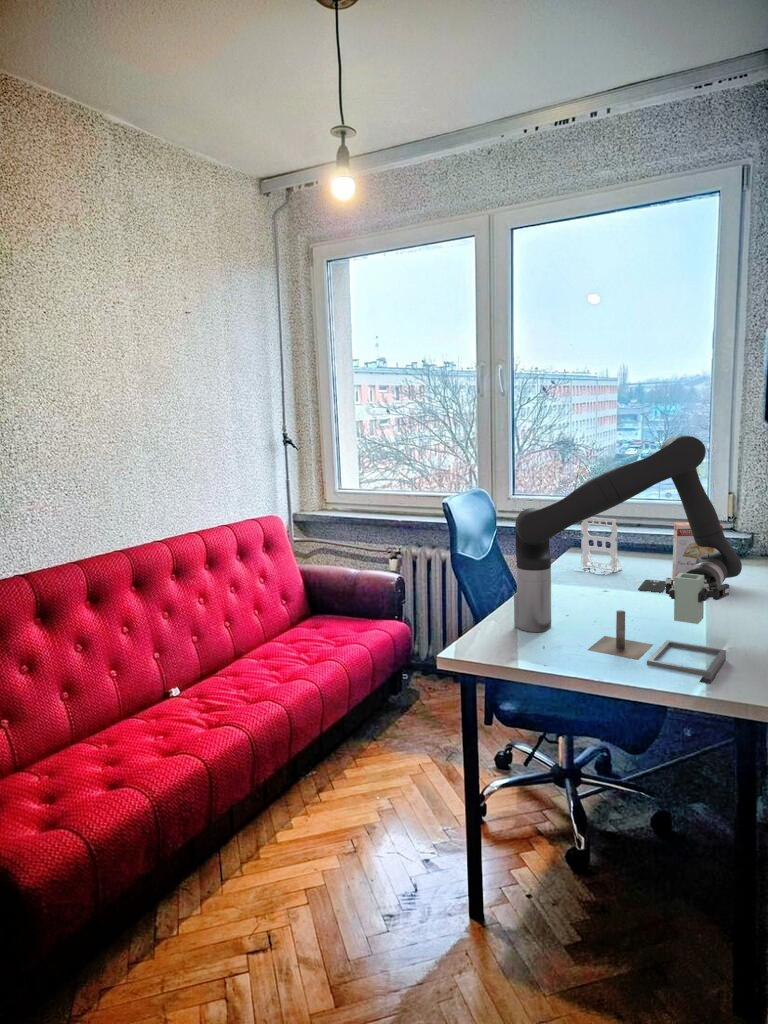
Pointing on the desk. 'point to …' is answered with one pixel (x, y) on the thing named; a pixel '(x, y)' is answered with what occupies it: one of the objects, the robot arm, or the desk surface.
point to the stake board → (627, 652)
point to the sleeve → (688, 598)
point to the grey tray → (707, 674)
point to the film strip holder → (587, 548)
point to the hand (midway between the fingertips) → (686, 596)
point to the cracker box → (686, 549)
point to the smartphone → (653, 586)
